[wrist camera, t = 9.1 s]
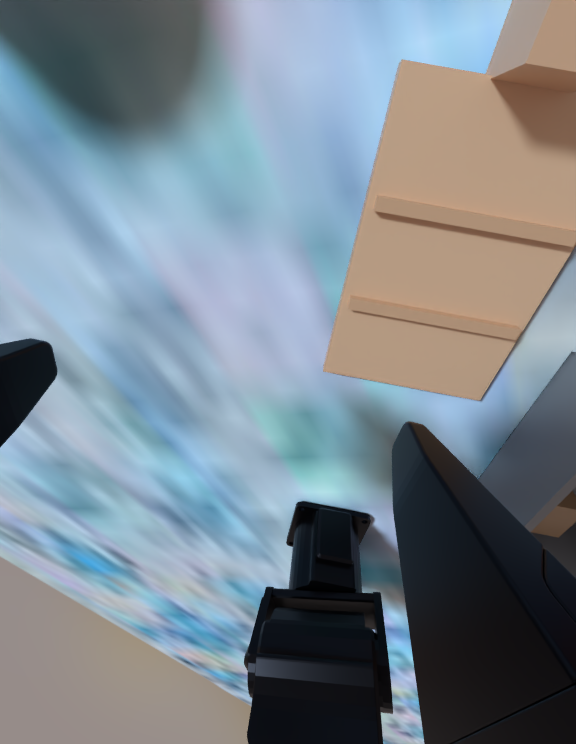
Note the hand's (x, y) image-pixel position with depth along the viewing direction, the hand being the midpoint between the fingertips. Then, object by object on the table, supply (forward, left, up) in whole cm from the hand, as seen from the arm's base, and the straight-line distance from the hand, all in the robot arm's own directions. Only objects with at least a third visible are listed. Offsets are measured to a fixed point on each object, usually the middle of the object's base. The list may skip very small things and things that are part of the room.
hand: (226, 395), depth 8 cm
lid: (+3, -8, -12) cm, 15 cm away
